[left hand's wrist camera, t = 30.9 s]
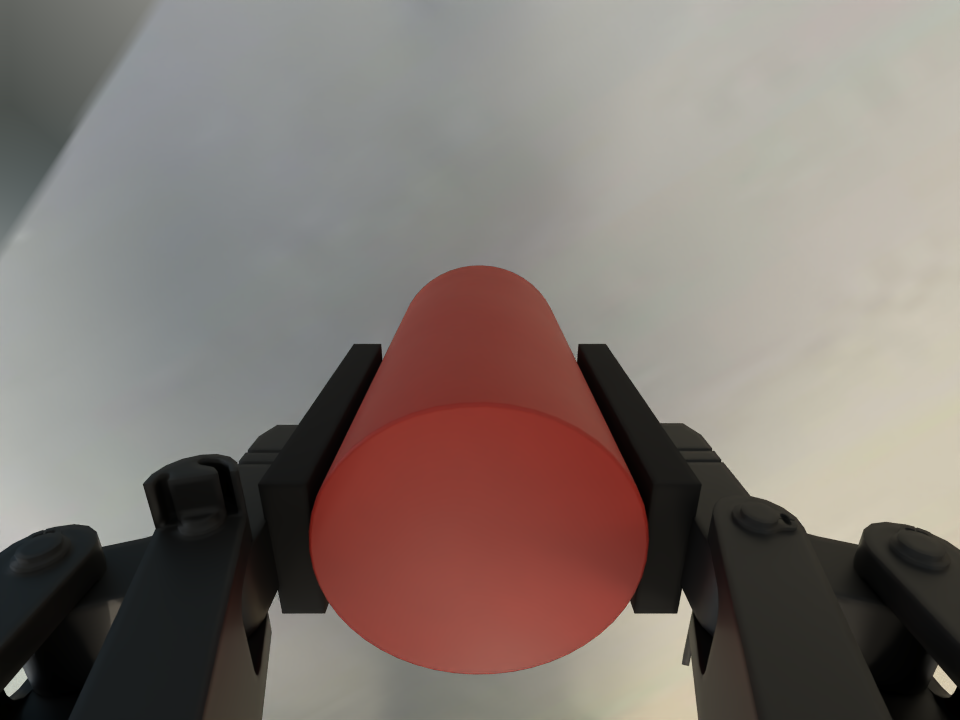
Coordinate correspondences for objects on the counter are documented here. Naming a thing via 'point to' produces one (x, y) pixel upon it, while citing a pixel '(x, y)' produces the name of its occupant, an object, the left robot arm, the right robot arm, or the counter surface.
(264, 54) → the counter surface
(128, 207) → the counter surface
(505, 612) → the can
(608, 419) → the left robot arm
